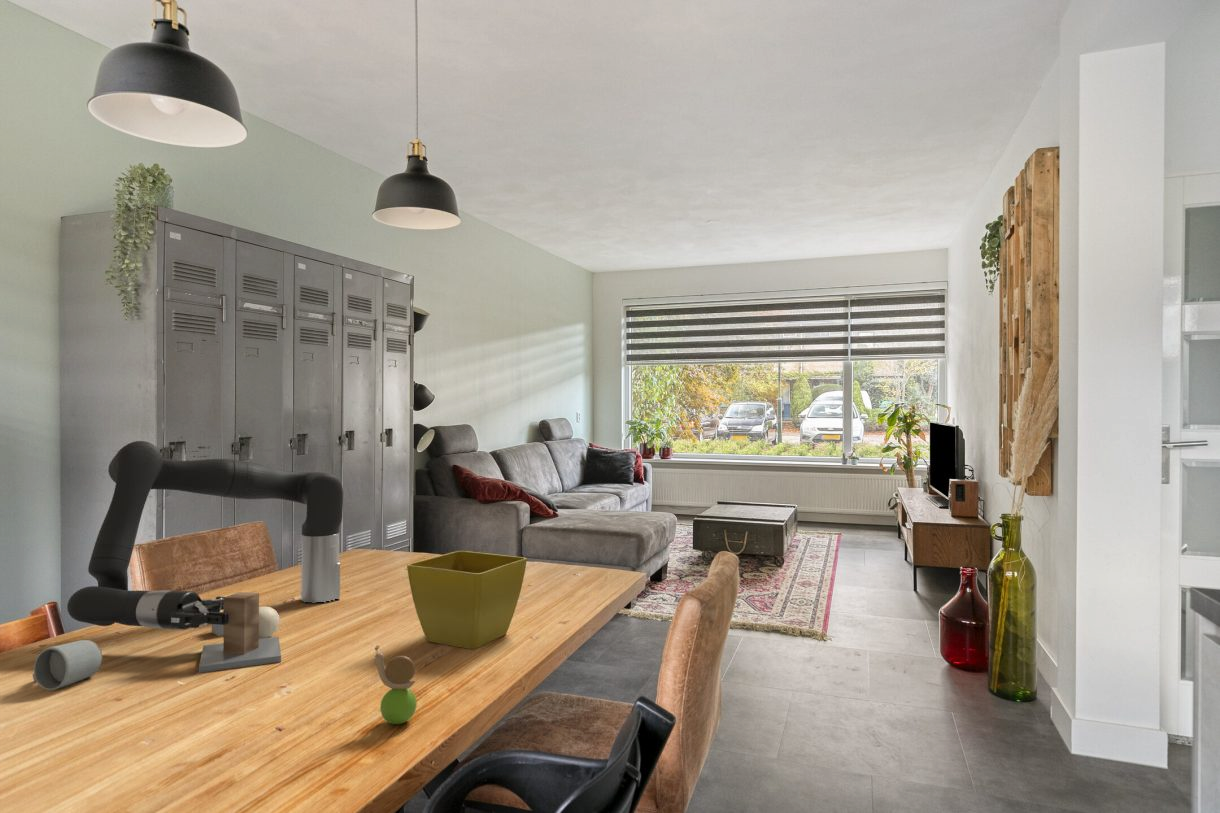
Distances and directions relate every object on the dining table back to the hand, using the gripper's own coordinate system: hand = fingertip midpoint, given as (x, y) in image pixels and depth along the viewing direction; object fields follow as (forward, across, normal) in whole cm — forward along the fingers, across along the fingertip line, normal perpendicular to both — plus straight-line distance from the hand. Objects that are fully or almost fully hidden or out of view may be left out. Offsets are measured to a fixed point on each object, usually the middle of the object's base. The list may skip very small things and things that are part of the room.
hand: (241, 612), depth 145 cm
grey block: (-14, +15, +9) cm, 22 cm away
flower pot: (+41, +18, +9) cm, 46 cm away
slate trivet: (0, 0, +9) cm, 9 cm away
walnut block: (0, 0, +8) cm, 8 cm away
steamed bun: (-4, +12, +9) cm, 15 cm away
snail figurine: (+44, -25, +9) cm, 52 cm away
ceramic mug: (-23, -18, +9) cm, 30 cm away
